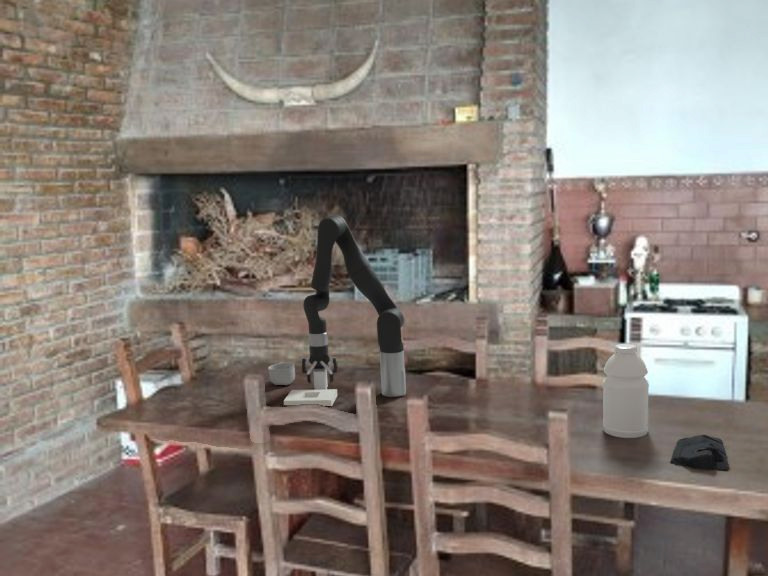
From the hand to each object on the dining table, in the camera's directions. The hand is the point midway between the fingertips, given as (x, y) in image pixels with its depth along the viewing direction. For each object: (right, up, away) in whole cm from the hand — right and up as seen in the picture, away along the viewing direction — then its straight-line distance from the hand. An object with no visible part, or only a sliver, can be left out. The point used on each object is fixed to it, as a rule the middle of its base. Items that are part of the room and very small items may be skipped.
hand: (320, 382), depth 303 cm
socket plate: (-2, -5, -15) cm, 16 cm away
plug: (0, -3, 0) cm, 3 cm away
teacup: (-17, -2, +12) cm, 21 cm away
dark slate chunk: (+117, -11, -84) cm, 145 cm away
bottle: (+103, -8, -62) cm, 120 cm away
